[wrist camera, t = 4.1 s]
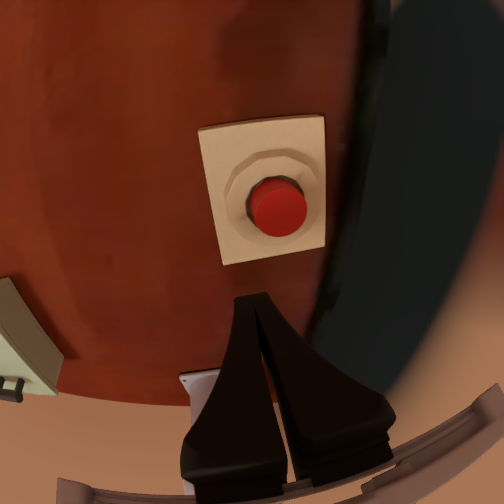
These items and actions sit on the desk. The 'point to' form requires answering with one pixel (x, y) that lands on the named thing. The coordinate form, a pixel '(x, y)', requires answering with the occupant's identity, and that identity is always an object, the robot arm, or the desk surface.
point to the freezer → (28, 333)
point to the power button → (278, 208)
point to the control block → (258, 171)
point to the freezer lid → (19, 373)
